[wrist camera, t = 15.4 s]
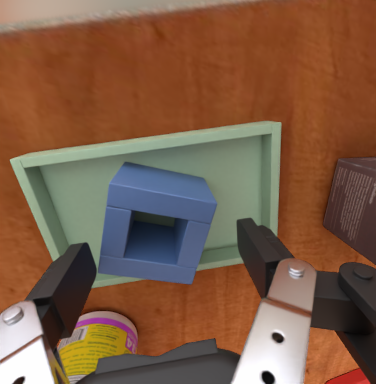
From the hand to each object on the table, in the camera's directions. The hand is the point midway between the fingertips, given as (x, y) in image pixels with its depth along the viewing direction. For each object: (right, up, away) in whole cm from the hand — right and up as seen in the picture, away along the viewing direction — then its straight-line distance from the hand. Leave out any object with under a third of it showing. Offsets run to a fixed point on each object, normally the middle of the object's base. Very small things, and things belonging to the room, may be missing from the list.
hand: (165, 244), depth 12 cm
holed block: (-1, +2, +4) cm, 5 cm away
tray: (-1, +2, +5) cm, 5 cm away
